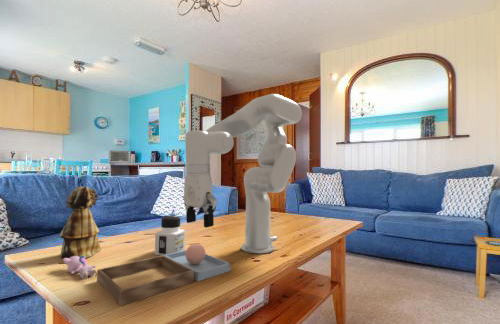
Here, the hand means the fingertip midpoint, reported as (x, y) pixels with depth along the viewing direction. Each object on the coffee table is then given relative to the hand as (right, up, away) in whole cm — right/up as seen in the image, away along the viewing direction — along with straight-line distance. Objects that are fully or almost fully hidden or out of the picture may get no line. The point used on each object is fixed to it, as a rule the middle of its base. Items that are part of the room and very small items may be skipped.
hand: (199, 224), depth 83 cm
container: (-13, -13, +12) cm, 22 cm away
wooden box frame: (-12, -12, -13) cm, 21 cm away
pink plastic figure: (-33, -12, -8) cm, 36 cm away
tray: (-1, -13, -1) cm, 13 cm away
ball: (-1, -12, -1) cm, 12 cm away
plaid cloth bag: (-44, -13, +7) cm, 46 cm away
